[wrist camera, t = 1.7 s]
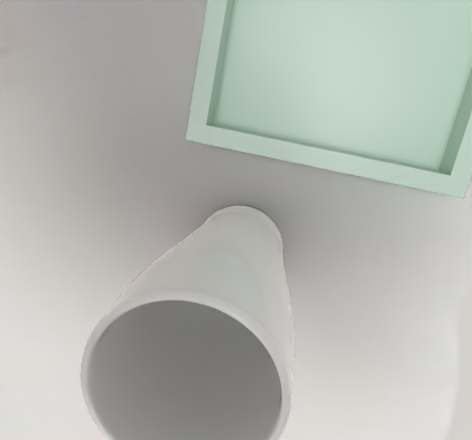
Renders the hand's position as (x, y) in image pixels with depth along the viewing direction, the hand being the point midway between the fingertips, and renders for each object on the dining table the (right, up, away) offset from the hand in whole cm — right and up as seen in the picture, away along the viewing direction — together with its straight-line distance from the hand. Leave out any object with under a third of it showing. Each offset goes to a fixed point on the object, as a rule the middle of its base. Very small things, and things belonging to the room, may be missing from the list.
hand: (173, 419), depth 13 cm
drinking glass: (+2, +4, +15) cm, 16 cm away
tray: (+8, +18, +11) cm, 22 cm away
